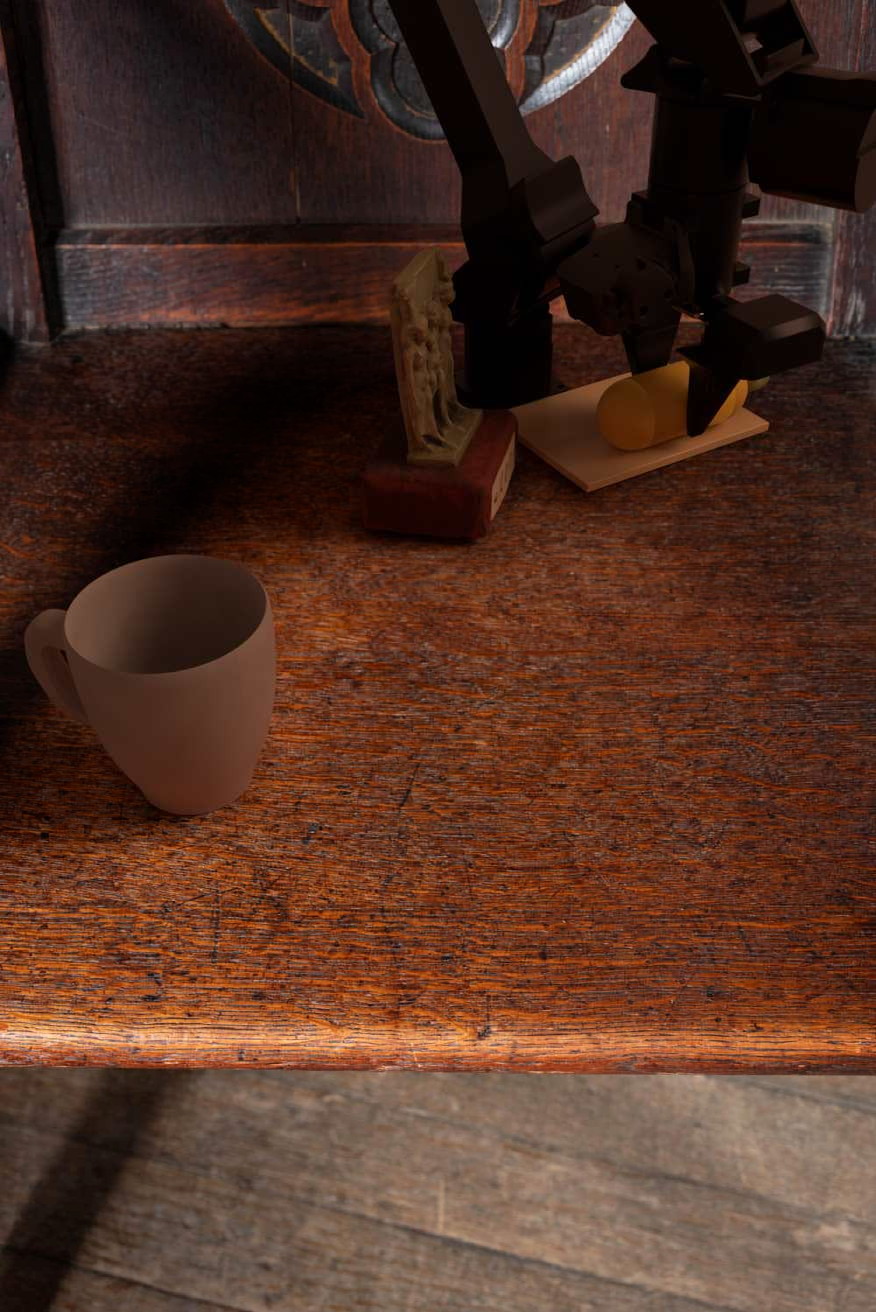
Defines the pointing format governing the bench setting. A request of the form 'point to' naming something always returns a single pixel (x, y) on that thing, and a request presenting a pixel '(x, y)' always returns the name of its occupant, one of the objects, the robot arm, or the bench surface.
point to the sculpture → (434, 424)
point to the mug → (167, 674)
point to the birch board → (588, 459)
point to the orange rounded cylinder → (657, 406)
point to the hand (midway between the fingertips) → (670, 419)
